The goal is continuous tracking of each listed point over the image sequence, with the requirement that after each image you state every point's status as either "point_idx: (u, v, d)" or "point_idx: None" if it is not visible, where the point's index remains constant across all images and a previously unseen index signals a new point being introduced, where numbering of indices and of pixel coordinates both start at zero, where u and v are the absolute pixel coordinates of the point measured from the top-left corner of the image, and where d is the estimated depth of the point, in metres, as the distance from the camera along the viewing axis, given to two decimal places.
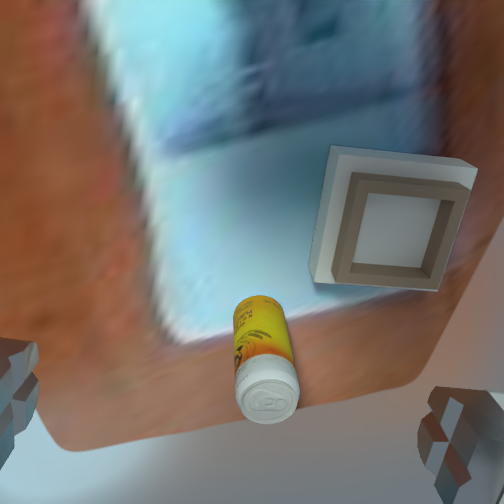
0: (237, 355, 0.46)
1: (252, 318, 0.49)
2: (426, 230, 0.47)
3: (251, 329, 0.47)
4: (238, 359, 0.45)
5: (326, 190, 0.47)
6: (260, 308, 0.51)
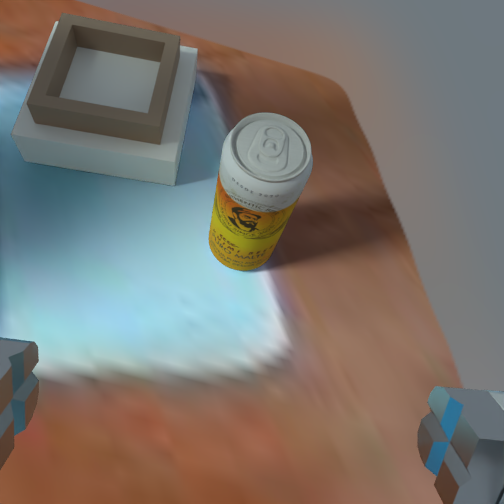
0: (240, 221, 0.33)
1: (214, 225, 0.37)
2: (119, 59, 0.44)
3: (217, 216, 0.35)
4: (239, 215, 0.32)
5: (67, 157, 0.41)
6: None
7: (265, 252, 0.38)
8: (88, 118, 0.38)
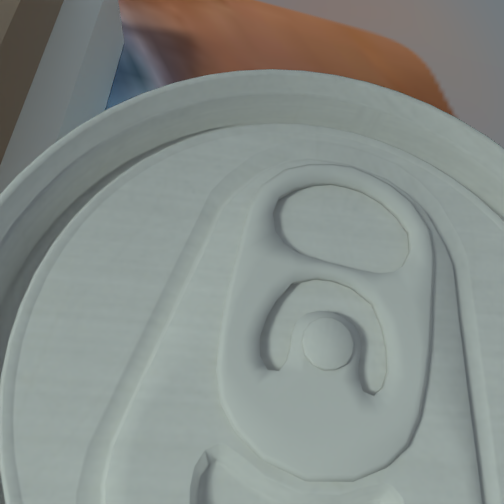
0: None
1: None
2: None
3: None
4: None
5: None
6: None
7: None
8: None
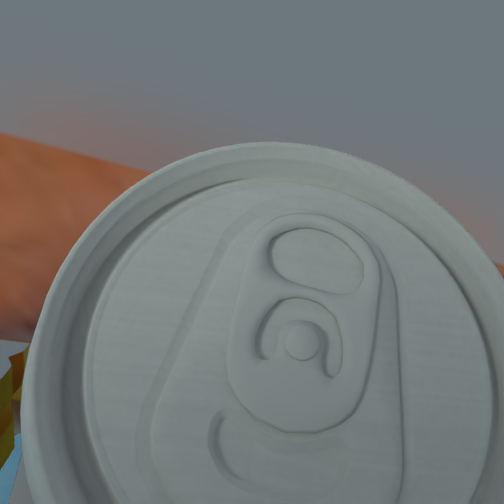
0: None
1: None
2: None
3: None
4: None
5: None
6: None
7: None
8: None
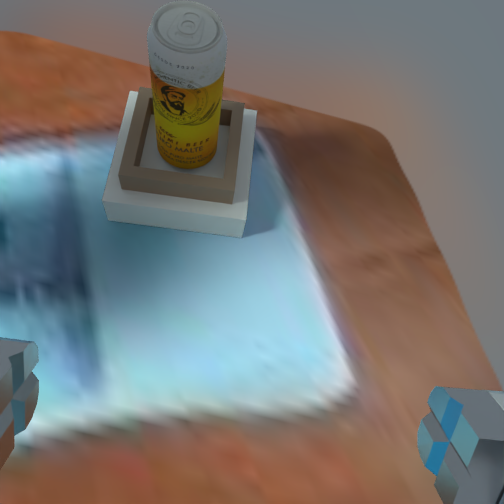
0: (170, 104, 0.37)
1: (155, 119, 0.42)
2: None
3: (154, 107, 0.40)
4: (167, 95, 0.37)
5: (148, 217, 0.46)
6: None
7: (203, 146, 0.43)
8: (171, 185, 0.43)
